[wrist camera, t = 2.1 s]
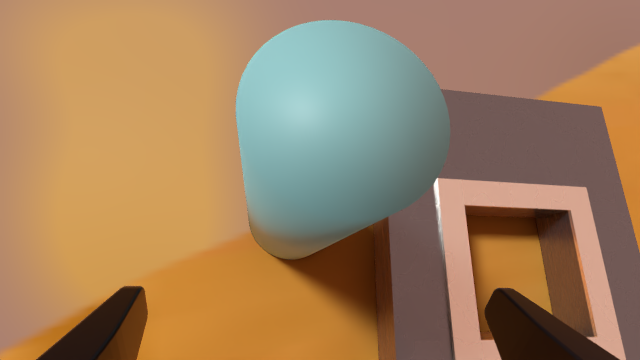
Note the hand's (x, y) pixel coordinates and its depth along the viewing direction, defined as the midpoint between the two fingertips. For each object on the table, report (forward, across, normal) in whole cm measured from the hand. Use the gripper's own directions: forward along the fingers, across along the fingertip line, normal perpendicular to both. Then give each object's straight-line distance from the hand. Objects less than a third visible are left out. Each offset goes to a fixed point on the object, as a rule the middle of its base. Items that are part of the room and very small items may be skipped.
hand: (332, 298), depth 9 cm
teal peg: (+10, 0, +5) cm, 12 cm away
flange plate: (+8, -13, +7) cm, 17 cm away
